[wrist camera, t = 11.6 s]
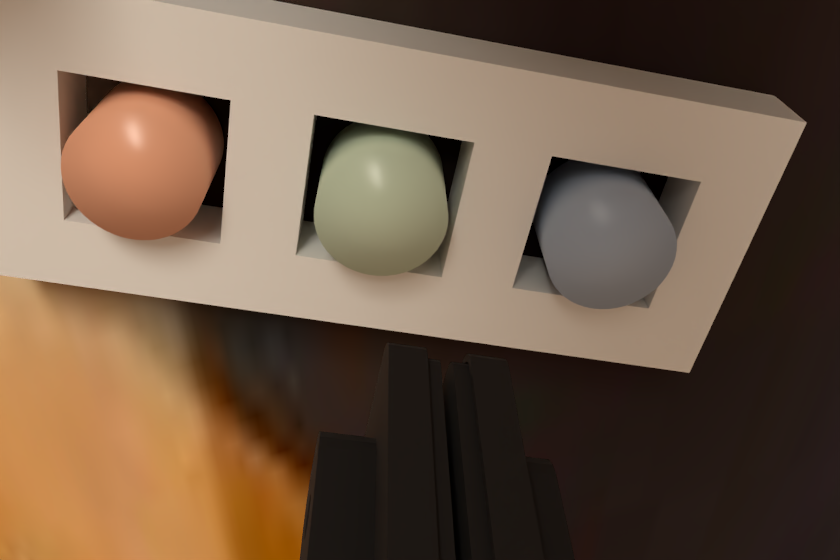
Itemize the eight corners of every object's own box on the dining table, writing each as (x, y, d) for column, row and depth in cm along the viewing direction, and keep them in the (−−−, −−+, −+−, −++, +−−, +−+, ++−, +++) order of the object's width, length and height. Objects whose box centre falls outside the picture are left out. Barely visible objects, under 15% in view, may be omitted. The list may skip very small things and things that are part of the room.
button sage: (330, 106, 32) (322, 145, 28) (454, 127, 32) (461, 168, 29) (314, 217, 34) (306, 265, 31) (429, 235, 35) (433, 284, 31)
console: (-4, -53, 29) (-43, -37, 26) (774, 95, 32) (806, 122, 30) (19, 237, 35) (-11, 273, 32) (670, 333, 39) (689, 372, 36)
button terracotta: (95, 64, 30) (57, 100, 27) (228, 88, 31) (207, 125, 28) (97, 182, 33) (63, 228, 30) (220, 202, 34) (200, 249, 30)
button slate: (550, 144, 33) (568, 186, 29) (665, 165, 33) (696, 208, 30) (519, 249, 35) (532, 299, 32) (626, 266, 36) (650, 317, 32)
